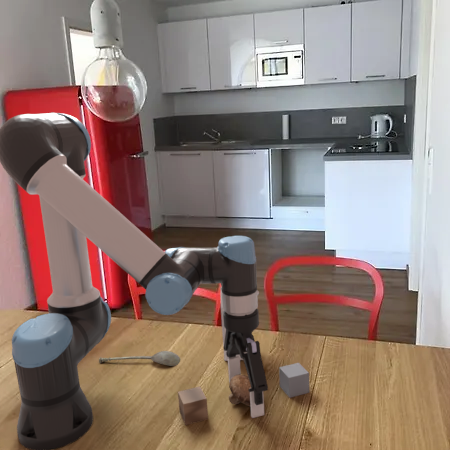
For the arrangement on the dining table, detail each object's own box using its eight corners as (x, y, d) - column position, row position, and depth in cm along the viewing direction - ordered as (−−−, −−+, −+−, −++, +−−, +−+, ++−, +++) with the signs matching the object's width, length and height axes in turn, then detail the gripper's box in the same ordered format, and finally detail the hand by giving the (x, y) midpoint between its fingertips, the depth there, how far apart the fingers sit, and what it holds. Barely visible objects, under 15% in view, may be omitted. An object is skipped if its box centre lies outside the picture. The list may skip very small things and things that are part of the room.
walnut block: (185, 425, 101) (183, 404, 100) (179, 412, 106) (177, 391, 105) (208, 419, 103) (206, 398, 102) (201, 406, 108) (200, 386, 106)
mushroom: (214, 393, 106) (230, 371, 106) (230, 388, 113) (246, 367, 113) (240, 420, 103) (257, 397, 102) (255, 413, 110) (271, 391, 109)
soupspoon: (178, 371, 125) (183, 359, 131) (178, 359, 124) (183, 348, 130) (95, 369, 127) (104, 357, 133) (94, 357, 126) (103, 346, 132)
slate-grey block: (289, 398, 109) (288, 377, 108) (279, 386, 113) (279, 367, 112) (309, 392, 110) (308, 372, 109) (299, 381, 115) (298, 362, 114)
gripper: (282, 328, 93) (285, 426, 98) (236, 287, 116) (241, 367, 121) (245, 336, 90) (251, 436, 95) (206, 292, 113) (212, 374, 118)
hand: (245, 398), depth 108 cm, fingers open, 13 cm apart
